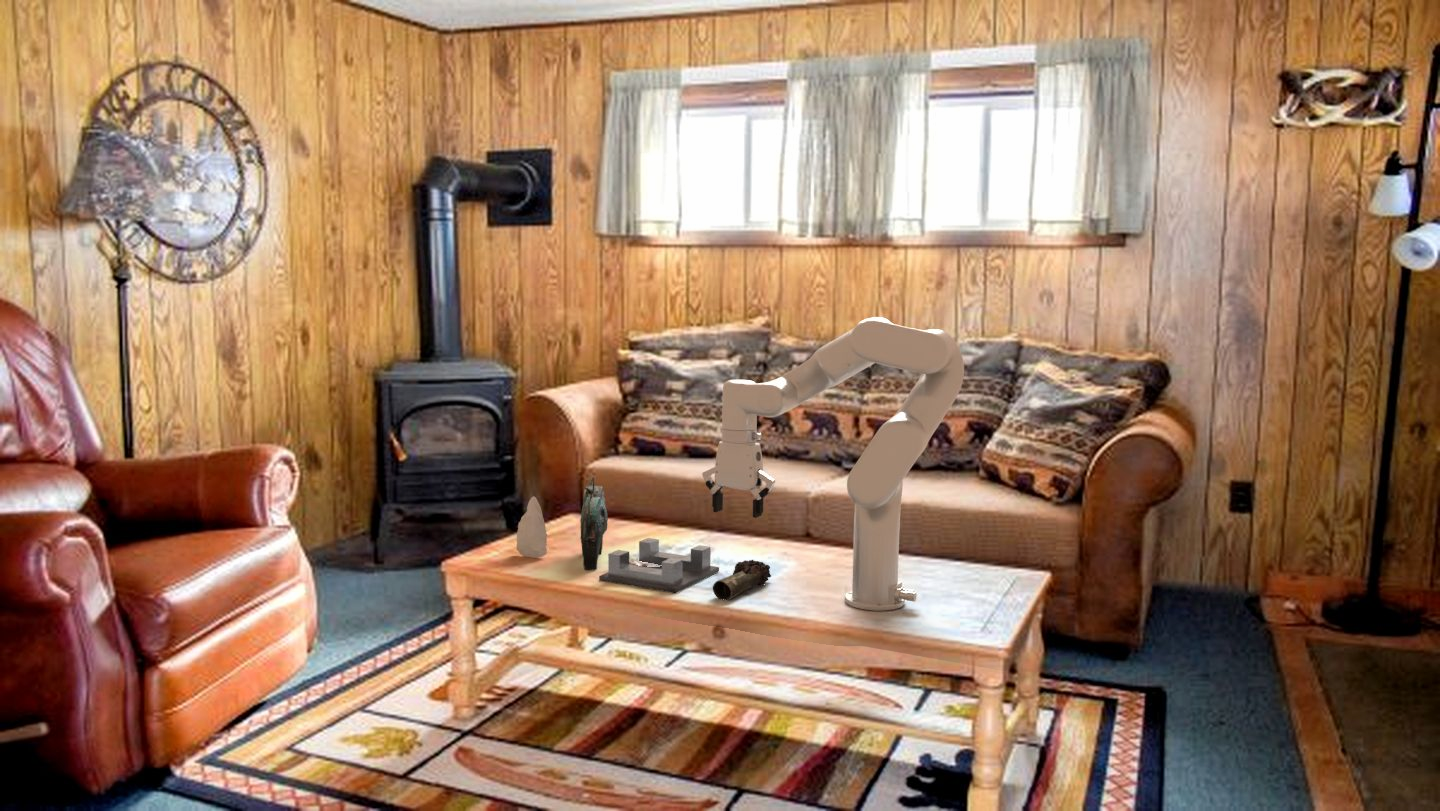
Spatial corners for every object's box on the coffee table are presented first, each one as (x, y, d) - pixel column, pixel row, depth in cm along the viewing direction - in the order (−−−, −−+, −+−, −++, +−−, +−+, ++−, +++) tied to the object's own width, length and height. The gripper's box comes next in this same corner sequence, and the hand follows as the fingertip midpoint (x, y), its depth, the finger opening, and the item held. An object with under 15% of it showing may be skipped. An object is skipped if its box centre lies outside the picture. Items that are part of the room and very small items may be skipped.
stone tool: (550, 556, 265) (549, 496, 264) (543, 559, 263) (543, 498, 261) (519, 553, 268) (518, 493, 266) (512, 556, 265) (512, 495, 264)
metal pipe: (731, 603, 231) (731, 577, 230) (705, 597, 234) (705, 572, 234) (775, 583, 245) (775, 558, 244) (749, 578, 249) (749, 554, 248)
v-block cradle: (719, 571, 254) (719, 546, 253) (675, 593, 236) (675, 566, 235) (646, 560, 263) (646, 535, 262) (599, 580, 245) (599, 554, 245)
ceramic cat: (584, 549, 273) (583, 471, 270) (610, 549, 273) (609, 471, 270) (576, 571, 253) (576, 486, 250) (604, 571, 253) (604, 486, 251)
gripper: (782, 438, 235) (780, 515, 238) (712, 431, 243) (710, 506, 246) (767, 442, 229) (765, 522, 231) (695, 435, 237) (694, 512, 239)
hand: (737, 513), depth 238 cm, fingers open, 9 cm apart
